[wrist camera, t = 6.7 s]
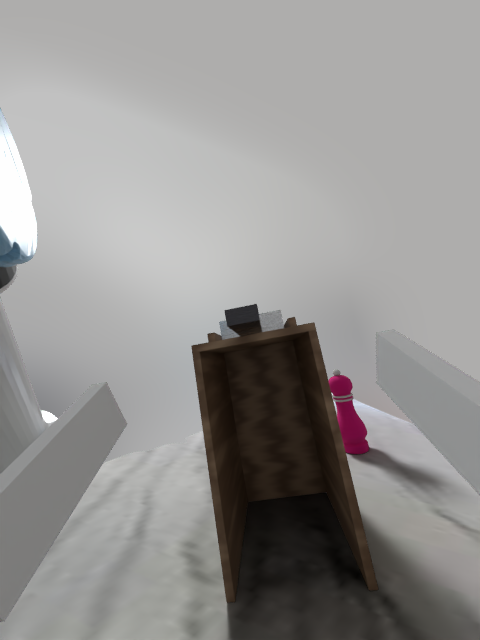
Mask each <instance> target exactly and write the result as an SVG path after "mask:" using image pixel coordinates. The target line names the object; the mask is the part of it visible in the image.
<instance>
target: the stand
mask: <svg viewBox="0 0 480 640" xmlns="http://www.w3.org/2000/svg"><path fill="white" fill-rule="evenodd" d="M208 340H209V342H208V343H204V344H198V345H193V346H192V353H193V361H194V368H195V375H196V382H197V390H198V397H199V404H200V411H201V419H202V426H203V433H204V441H205V448H206V455H207V463H208V470H209V477H210V484H211V492H212V499H213V506H214V513H215V521H216V528H217V535H218V543H219V550H220V557H221V564H222V572H223V579H224V586H225V593H226V601H227V603H229V602H235V600H236V592H237V584H238V576H239V569H240V561H241V553H242V545H243V538H244V530H245V522H246V514H247V506H248V502H251V501H259V500H268V499H276V498H284V497H292V496H300V495H308V494H316V493H324V492H326V493H327V495H328V497H329V500H330V502H331V504H332V507H333V509H334V511H335V513H336V516H337V518H338V520H339V523H340V525H341V527H342V529H343V532H344V534H345V536H346V539H347V541H348V543H349V546H350V548H351V550H352V552H353V555H354V557H355V559H356V562H357V564H358V566H359V568H360V571H361V573H362V575H363V578H364V580H365V582H366V584H367V587H368V589H369V591H370V590H379V589H378V585H377V581H376V577H375V573H374V569H373V564H372V560H371V556H370V552H369V548H368V544H367V540H366V535H365V531H364V527H363V523H362V519H361V515H360V510H359V506H358V502H357V498H356V494H355V490H354V485H353V481H352V477H351V473H350V469H349V465H348V461H347V456H346V452H345V448H344V444H343V440H342V436H341V431H340V427H339V423H338V419H337V415H336V411H335V406H334V402H333V398H332V394H331V390H330V386H329V382H328V378H327V373H326V369H325V365H324V362H323V357H322V352H321V348H320V344H319V340H318V336H317V332H316V328H315V323H308V324H303V325H298V326H297V324H296V320H295V317H292V318H288V319H287V321H286V323H285V325H284V328H282V329H277V330H272V331H266V332H261V333H256V334H251V335H245V336H240V337H235V338H229V339H224V340H222V336H220V335H218V334H216V333H209V334H208Z"/></svg>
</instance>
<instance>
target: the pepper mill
mask: <svg viewBox="0 0 480 640" xmlns="http://www.w3.org/2000/svg"><path fill="white" fill-rule="evenodd" d="M333 374H334V375H335V376H333V377H331V378H330V379H329V381H328V382H329V386H330V390H331V392H332V393H333V395H332V397H333V401H335V403H336V406H337V419H338V423H339V427H340V431H341V436H342V440H343V444H344V448H345V452H346V453H350V454H363V453H366V452H367V451H368V450H369V446H368V442H367V440H365V437H366V435H367V430H366V427H365V425H364V423H363V422H362V420H361V419H360V418H359V416H358V415H357V413H356V411H355V409H354V406H353V401H352V400H353V396H352V395H353V394H352V393H351V390H352V383H351V381H350V379H349V378H348V377H346V376H343V375H340V371H339V370H334V371H333Z"/></svg>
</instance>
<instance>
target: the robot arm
mask: <svg viewBox="0 0 480 640" xmlns="http://www.w3.org/2000/svg"><path fill="white" fill-rule="evenodd" d="M30 201H31V193H30V189H29V185H28V181H27V178H26V175H25V171H24V168H23V165H22V162H21V159H20V156H19V153H18V150H17V147H16V145H15V142H14V139H13V137H12V134H11V132H10V130H9V127H8V124H7V122H6V120H5V117H4V115H3V113H2V111H1V109H0V294H1V293H2V292H3V291H5V290H6V289H7V288H8V287H9V286H10V285H11V284H12V283H13V282H14V280H15V278H16V276H17V272H18V268H17V264H22V263H25V262H27V261H29V260H31V259H32V258H33V256H34V254H35V251H36V247H37V225H36V218H35V214H34V211H33V208H32V204H31V202H30ZM376 368H377V369H376V370H377V384H378V385H379V386H380V387H381V388H382V390H383V391H384V392H385V393H386V394H387V395H388V396H389V397H390V398H391V399H392V400H393V402H394V403H395V404H396V405H397V406H398V407H399V408H400V409H401V410H402V411H403V412H404V413H405V415H406V416H407V417H408V418H409V419H410V420H411V421H412V422H413V423H414V424H415V426H416V427H417V428H418V429H419V430H420V431H421V432H422V433H423V434H424V435H425V436H426V438H427V439H428V440H429V441H430V442H431V443H432V444H433V445H434V446H435V447H436V448H437V450H438V451H439V452H440V453H441V454H442V455H443V456H444V457H445V458H446V459H447V460H448V462H449V463H450V464H451V465H452V466H453V467H454V468H455V469H456V470H457V471H458V472H459V473H460V475H461V476H462V477H463V478H464V479H465V480H466V481H467V482H468V483H469V484H470V485H471V487H472V488H473V489H474V490H475V491H476V492H477V493H478V494H479V495H480V382H479V381H477V380H476V379H474V378H473V377H471V376H469V375H468V374H466V373H464V372H463V371H461V370H460V369H458V368H456V367H455V366H453V365H451V364H450V363H448V362H446V361H445V360H443V359H441V358H440V357H438V356H437V355H435V354H433V353H432V352H430V351H428V350H427V349H425V348H423V347H422V346H420V345H418V344H417V343H415V342H413V341H412V340H410V339H408V338H407V337H405V336H404V335H402V334H400V333H399V332H397V331H395V330H388V331H384V332H378V333H376ZM126 425H127V423H126V421H125V419H124V417H123V415H122V413H121V411H120V409H119V407H118V405H117V403H116V401H115V398H114V397H113V395H112V393H111V391H110V388H109V387H108V384H107V382H105V383H99V384H94V385H92V386H91V387H89V389H87V390H86V391H85V393H83V394H82V395H81V396H80V397H79V398H78V399H77V400H76V401H75V402H74V403H73V404H72V405H71V406H70V407H69V408H68V409H67V410H66V411H65V412H64V413H63V414H62V415H61V416H60V417H59V418H58V419H57V418H56V417H55V416H53V415H52V414H50V413H48V412H46V411H42V410H41V409H40V406H39V404H38V401H37V398H36V396H35V393H34V390H33V387H32V385H31V381H30V379H29V376H28V373H27V371H26V367H25V365H24V362H23V359H22V356H21V354H20V351H19V348H18V345H17V342H16V340H15V337H14V334H13V331H12V328H11V326H10V323H9V320H8V317H7V315H6V312H5V309H4V306H3V303H2V300H1V298H0V622H2V621H5V620H6V618H7V616H8V615H9V613H10V612H11V610H12V608H13V607H14V605H15V604H16V602H17V600H18V599H19V597H20V596H21V594H22V592H23V591H24V589H25V588H26V586H27V584H28V583H29V581H30V580H31V578H32V576H33V575H34V573H35V571H36V570H37V568H38V567H39V565H40V563H41V562H42V560H43V559H44V557H45V555H46V554H47V552H48V551H49V549H50V547H51V546H52V544H53V543H54V541H55V539H56V538H57V536H58V535H59V533H60V531H61V530H62V528H63V527H64V525H65V523H66V522H67V520H68V519H69V517H70V515H71V514H72V512H73V511H74V509H75V507H76V506H77V504H78V502H79V501H80V499H81V498H82V496H83V494H84V493H85V491H86V490H87V488H88V486H89V485H90V483H91V482H92V480H93V478H94V477H95V475H96V474H97V472H98V470H99V469H100V467H101V466H102V464H103V462H104V461H105V459H106V458H107V456H108V454H109V453H110V451H111V450H112V448H113V446H114V445H115V443H116V441H117V440H118V438H119V437H120V435H121V433H122V432H123V430H124V429H125V427H126Z"/></svg>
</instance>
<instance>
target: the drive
mask: <svg viewBox="0 0 480 640" xmlns="http://www.w3.org/2000/svg"><path fill="white" fill-rule="evenodd" d="M225 316H226V321H222V322H219V323H220V329H221V335H222V340H224V339H229V338H235V337H240V336H245V335H251V334H256V333H261V332H266V331H272V330H277V329H282V328H284V324H283V320H282V315H281V311H280V310H278V311H272V312H267V313H262V314H258V308H257V304H254V305H250V306H245V307H239V308H234V309H230V310H225Z"/></svg>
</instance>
